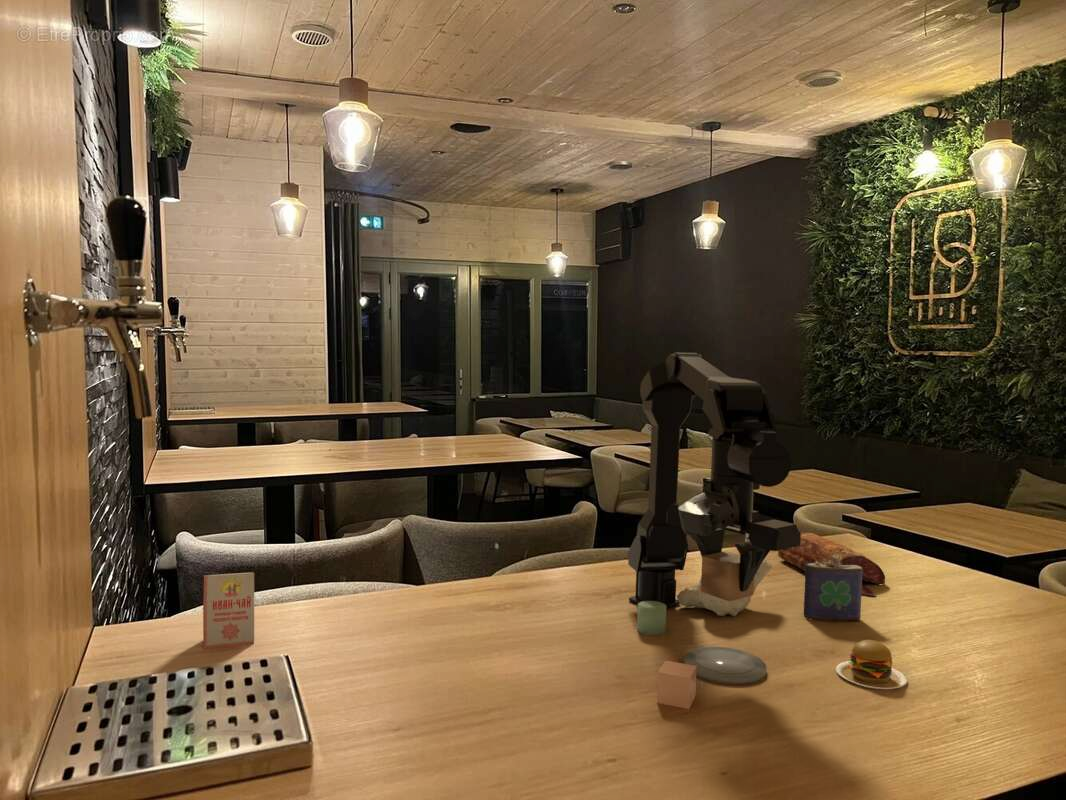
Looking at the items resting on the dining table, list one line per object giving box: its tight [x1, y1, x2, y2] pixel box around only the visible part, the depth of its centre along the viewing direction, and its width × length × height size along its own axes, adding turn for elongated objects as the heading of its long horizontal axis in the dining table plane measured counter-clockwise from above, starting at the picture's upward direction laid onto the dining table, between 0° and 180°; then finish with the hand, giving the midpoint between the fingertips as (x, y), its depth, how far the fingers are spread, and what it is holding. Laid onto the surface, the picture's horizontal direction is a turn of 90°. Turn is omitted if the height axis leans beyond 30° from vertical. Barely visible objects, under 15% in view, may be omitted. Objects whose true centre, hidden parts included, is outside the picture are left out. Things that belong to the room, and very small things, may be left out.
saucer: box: [683, 646, 767, 685], centre depth 110 cm, size 11×11×1 cm
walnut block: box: [700, 550, 755, 601], centre depth 109 cm, size 5×5×5 cm
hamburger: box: [835, 639, 908, 690], centre depth 107 cm, size 12×12×6 cm
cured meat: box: [777, 532, 886, 597], centre depth 155 cm, size 18×25×7 cm
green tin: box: [636, 601, 667, 636], centre depth 123 cm, size 4×4×4 cm
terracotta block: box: [656, 660, 697, 710], centre depth 99 cm, size 4×4×4 cm
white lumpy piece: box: [676, 558, 773, 617], centre depth 133 cm, size 15×7×15 cm
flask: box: [803, 555, 863, 622], centre depth 130 cm, size 9×3×11 cm, turn 87°
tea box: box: [202, 571, 255, 650], centre depth 115 cm, size 4×7×10 cm, turn 108°
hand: (727, 585), depth 109 cm, fingers closed on walnut block, 5 cm apart
